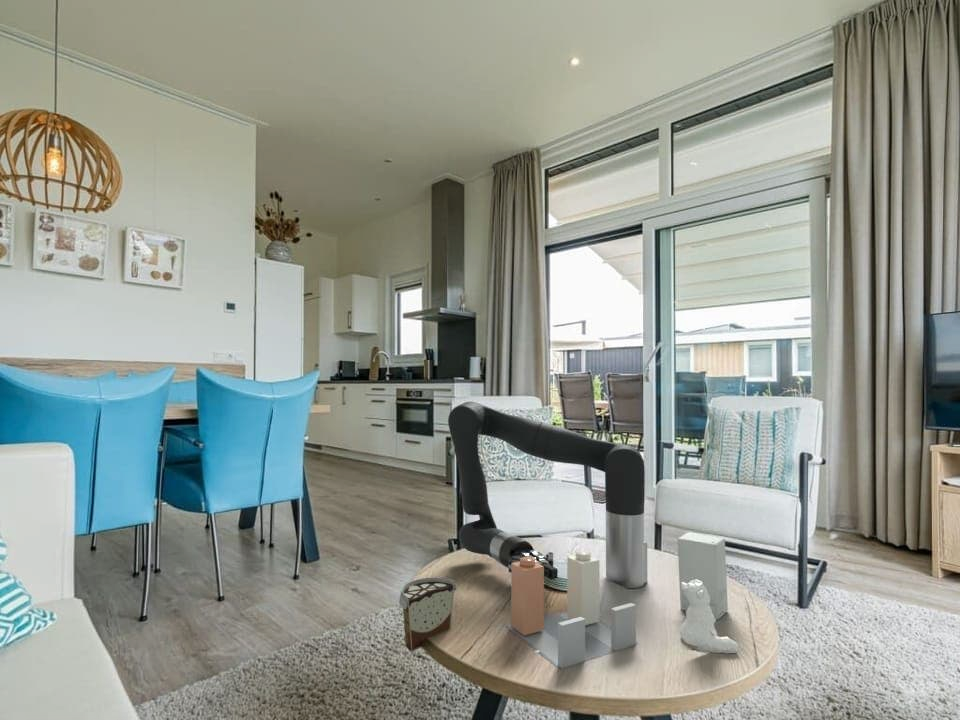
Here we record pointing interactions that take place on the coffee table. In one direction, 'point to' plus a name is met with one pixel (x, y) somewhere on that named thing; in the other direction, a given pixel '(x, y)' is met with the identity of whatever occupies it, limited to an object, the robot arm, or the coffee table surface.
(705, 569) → the skincare box
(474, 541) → the robot arm
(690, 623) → the sitting furry creature
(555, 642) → the grey holder stand
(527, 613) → the terracotta plug
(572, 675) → the coffee table surface
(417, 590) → the food container
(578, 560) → the cream plug
